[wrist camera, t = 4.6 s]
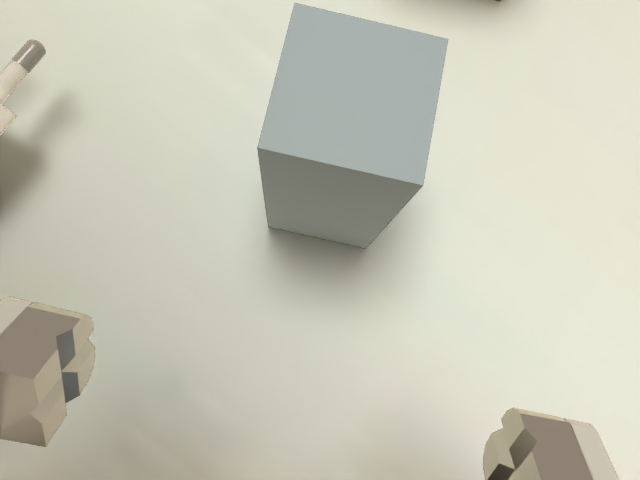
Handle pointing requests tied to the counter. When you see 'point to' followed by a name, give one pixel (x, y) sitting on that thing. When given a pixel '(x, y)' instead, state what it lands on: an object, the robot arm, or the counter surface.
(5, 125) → the power adapter
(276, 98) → the slate column
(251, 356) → the counter surface
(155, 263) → the counter surface
